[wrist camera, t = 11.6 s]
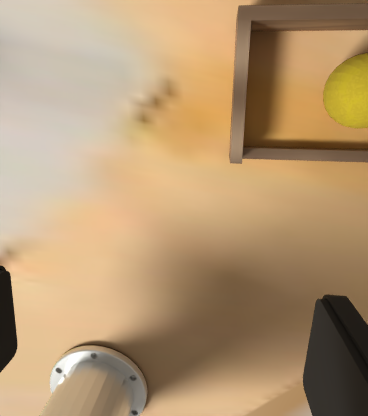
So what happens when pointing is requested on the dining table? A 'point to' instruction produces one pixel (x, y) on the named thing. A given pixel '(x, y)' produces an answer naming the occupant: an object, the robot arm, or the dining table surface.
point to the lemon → (348, 92)
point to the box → (248, 21)
